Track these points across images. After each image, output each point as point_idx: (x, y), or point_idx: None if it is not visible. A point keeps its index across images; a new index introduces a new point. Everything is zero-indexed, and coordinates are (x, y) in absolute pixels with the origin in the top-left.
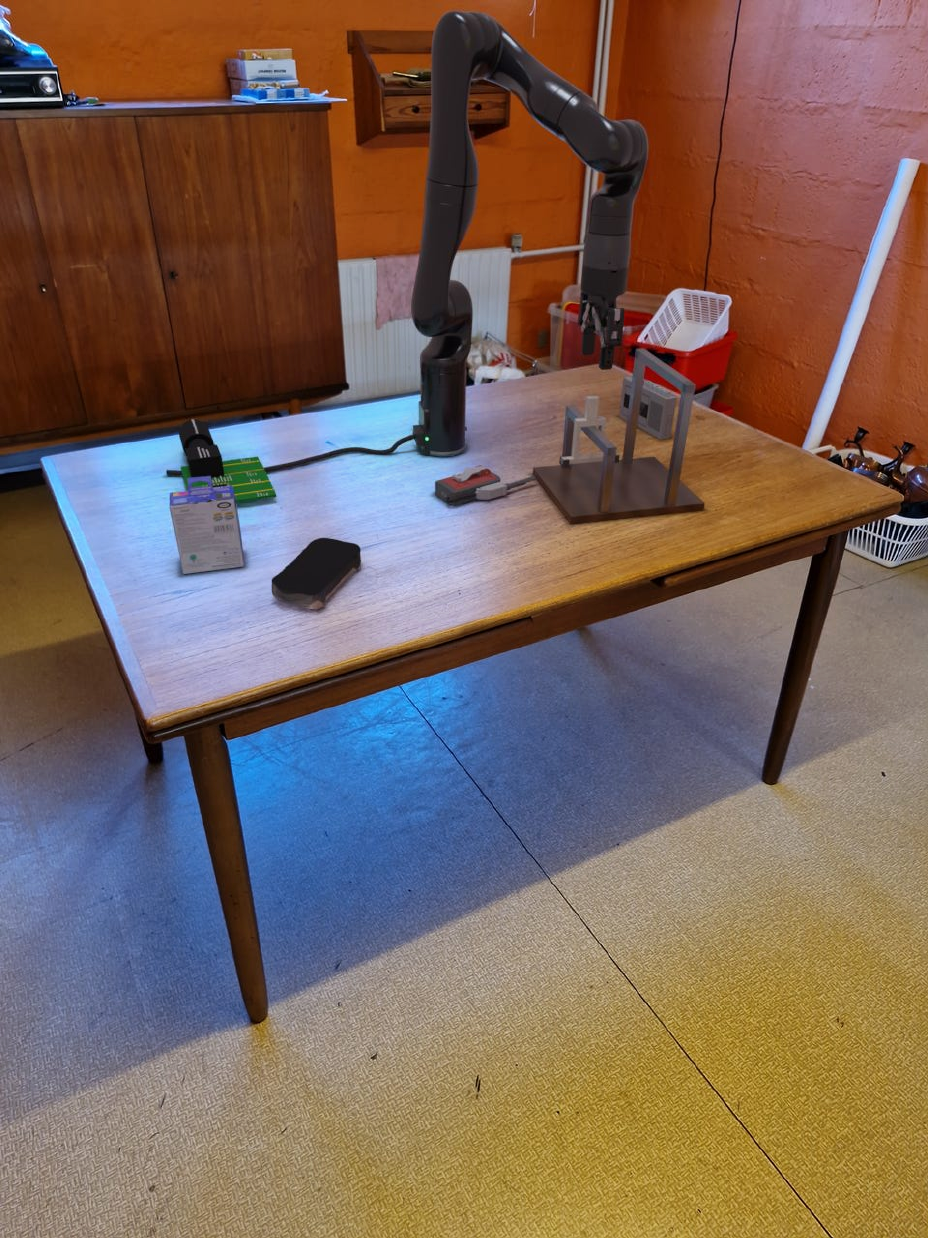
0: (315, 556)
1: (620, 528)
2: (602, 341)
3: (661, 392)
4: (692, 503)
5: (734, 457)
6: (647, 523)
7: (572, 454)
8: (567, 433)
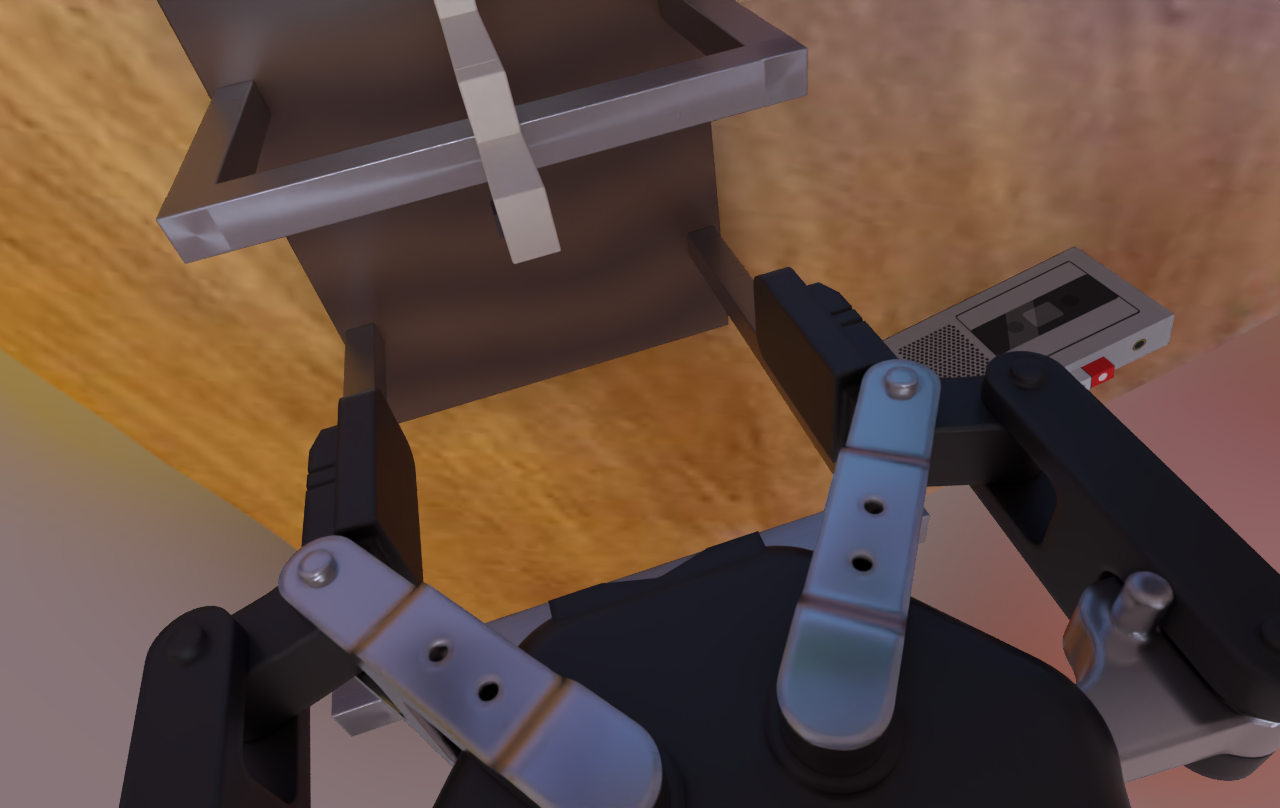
0: None
1: (167, 153)
2: (319, 586)
3: None
4: None
5: (729, 490)
6: (245, 252)
7: (463, 16)
8: (710, 24)
